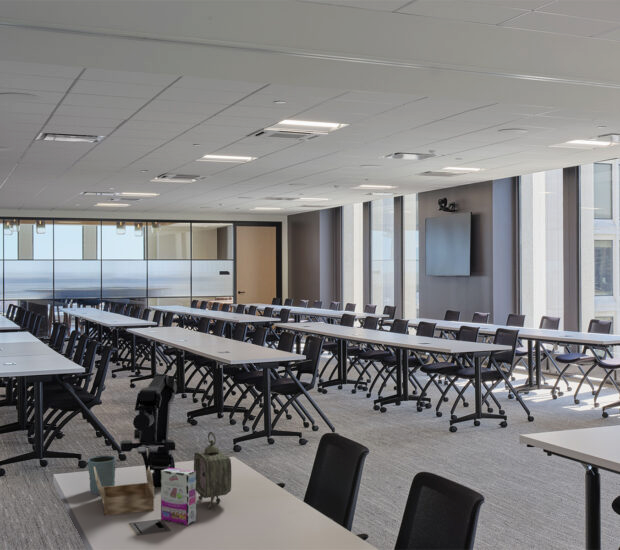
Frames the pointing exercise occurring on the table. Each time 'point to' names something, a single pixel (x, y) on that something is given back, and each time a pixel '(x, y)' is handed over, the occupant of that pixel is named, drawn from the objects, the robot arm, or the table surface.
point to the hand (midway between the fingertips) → (146, 470)
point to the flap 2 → (150, 481)
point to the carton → (127, 499)
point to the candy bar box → (178, 496)
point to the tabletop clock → (212, 472)
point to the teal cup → (101, 471)
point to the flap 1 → (99, 484)
